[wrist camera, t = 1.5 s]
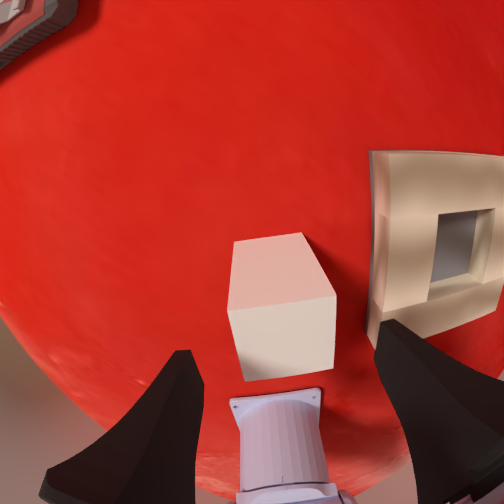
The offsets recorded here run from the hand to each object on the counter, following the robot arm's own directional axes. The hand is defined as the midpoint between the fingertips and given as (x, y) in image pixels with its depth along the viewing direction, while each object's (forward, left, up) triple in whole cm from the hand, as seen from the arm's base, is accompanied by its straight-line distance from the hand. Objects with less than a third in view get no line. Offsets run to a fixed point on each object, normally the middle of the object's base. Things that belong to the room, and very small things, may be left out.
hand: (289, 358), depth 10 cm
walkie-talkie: (+24, +19, -9) cm, 32 cm away
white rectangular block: (0, 0, -8) cm, 8 cm away
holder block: (0, -13, -8) cm, 15 cm away
